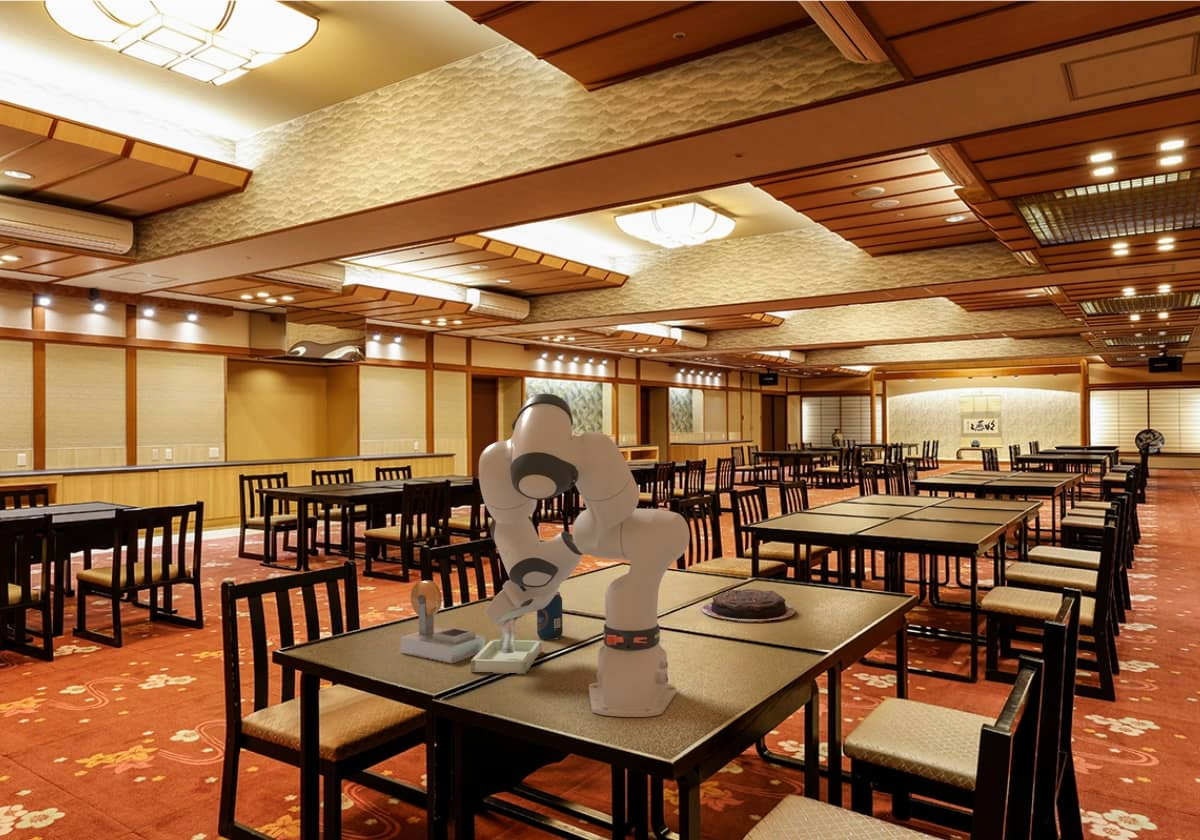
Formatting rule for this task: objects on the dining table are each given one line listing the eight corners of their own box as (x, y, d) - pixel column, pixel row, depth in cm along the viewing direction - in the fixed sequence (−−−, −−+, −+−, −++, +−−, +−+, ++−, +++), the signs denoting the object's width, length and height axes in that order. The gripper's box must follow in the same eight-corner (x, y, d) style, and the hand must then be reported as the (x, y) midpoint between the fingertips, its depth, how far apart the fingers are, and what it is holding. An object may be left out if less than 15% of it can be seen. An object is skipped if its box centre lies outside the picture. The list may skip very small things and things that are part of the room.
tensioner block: (485, 651, 197) (484, 582, 197) (451, 663, 187) (450, 591, 187) (431, 641, 208) (430, 575, 208) (396, 651, 198) (396, 583, 198)
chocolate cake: (699, 623, 225) (699, 600, 225) (703, 602, 252) (703, 582, 252) (798, 626, 220) (798, 603, 220) (792, 604, 247) (791, 583, 247)
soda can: (532, 637, 211) (531, 592, 211) (552, 632, 215) (552, 589, 215) (547, 642, 205) (546, 596, 205) (567, 637, 210) (567, 593, 210)
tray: (525, 673, 178) (525, 661, 178) (470, 672, 180) (470, 660, 180) (541, 651, 196) (541, 640, 196) (491, 650, 198) (491, 639, 198)
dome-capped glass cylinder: (515, 654, 185) (514, 602, 186) (494, 654, 186) (494, 601, 186) (519, 648, 190) (519, 597, 190) (500, 648, 191) (499, 597, 191)
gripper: (555, 569, 193) (525, 604, 198) (500, 583, 176) (469, 621, 181) (569, 589, 191) (539, 624, 196) (515, 605, 174) (483, 642, 179)
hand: (505, 622), depth 189 cm, fingers closed on dome-capped glass cylinder, 3 cm apart
